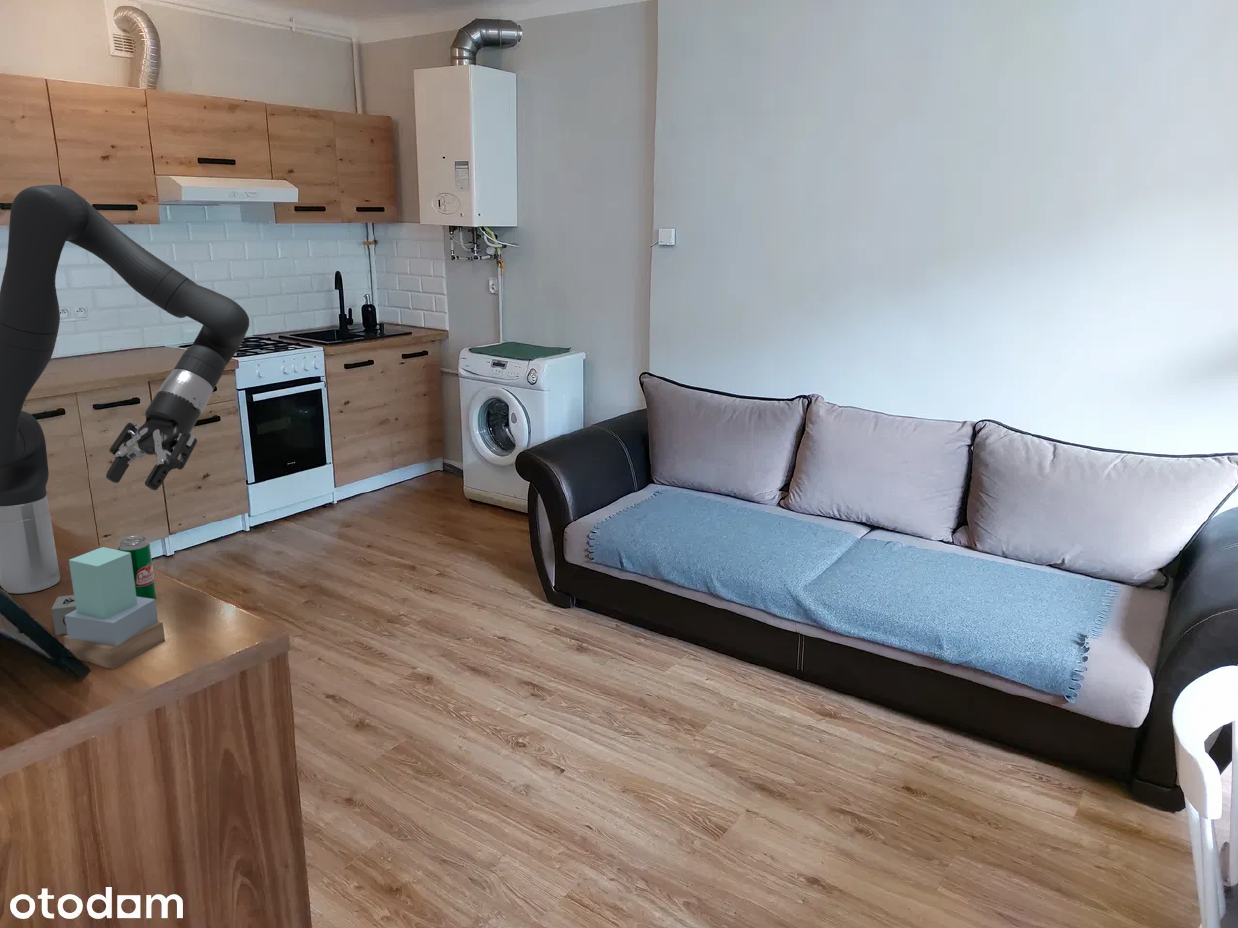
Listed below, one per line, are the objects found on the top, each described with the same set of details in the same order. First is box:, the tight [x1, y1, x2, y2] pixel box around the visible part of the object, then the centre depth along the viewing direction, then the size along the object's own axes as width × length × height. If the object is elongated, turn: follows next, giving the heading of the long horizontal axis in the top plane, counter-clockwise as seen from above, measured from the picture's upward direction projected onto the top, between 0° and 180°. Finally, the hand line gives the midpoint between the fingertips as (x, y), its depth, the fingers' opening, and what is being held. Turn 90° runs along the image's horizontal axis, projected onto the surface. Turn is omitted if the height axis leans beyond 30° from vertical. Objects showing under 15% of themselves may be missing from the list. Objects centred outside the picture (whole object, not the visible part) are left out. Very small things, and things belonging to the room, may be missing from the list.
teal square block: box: [68, 546, 137, 619], centre depth 137 cm, size 6×6×9 cm
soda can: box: [117, 535, 157, 599], centre depth 156 cm, size 5×5×12 cm
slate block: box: [65, 596, 159, 646], centre depth 139 cm, size 9×9×4 cm
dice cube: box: [51, 594, 76, 636], centre depth 146 cm, size 5×5×5 cm
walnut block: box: [62, 620, 166, 670], centre depth 140 cm, size 10×10×4 cm
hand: (130, 484), depth 139 cm, fingers open, 8 cm apart
